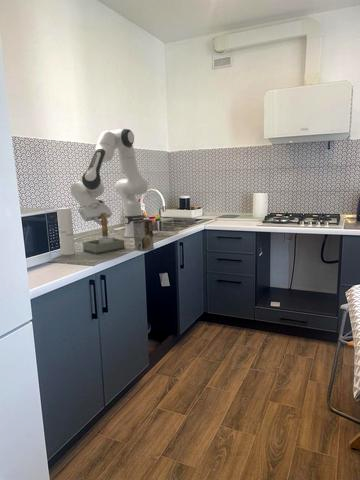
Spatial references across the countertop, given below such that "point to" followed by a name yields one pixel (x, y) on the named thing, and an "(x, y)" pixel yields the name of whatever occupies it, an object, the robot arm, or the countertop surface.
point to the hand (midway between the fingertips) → (104, 223)
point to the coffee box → (143, 235)
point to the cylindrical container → (66, 231)
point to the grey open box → (103, 245)
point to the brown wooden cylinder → (104, 225)
